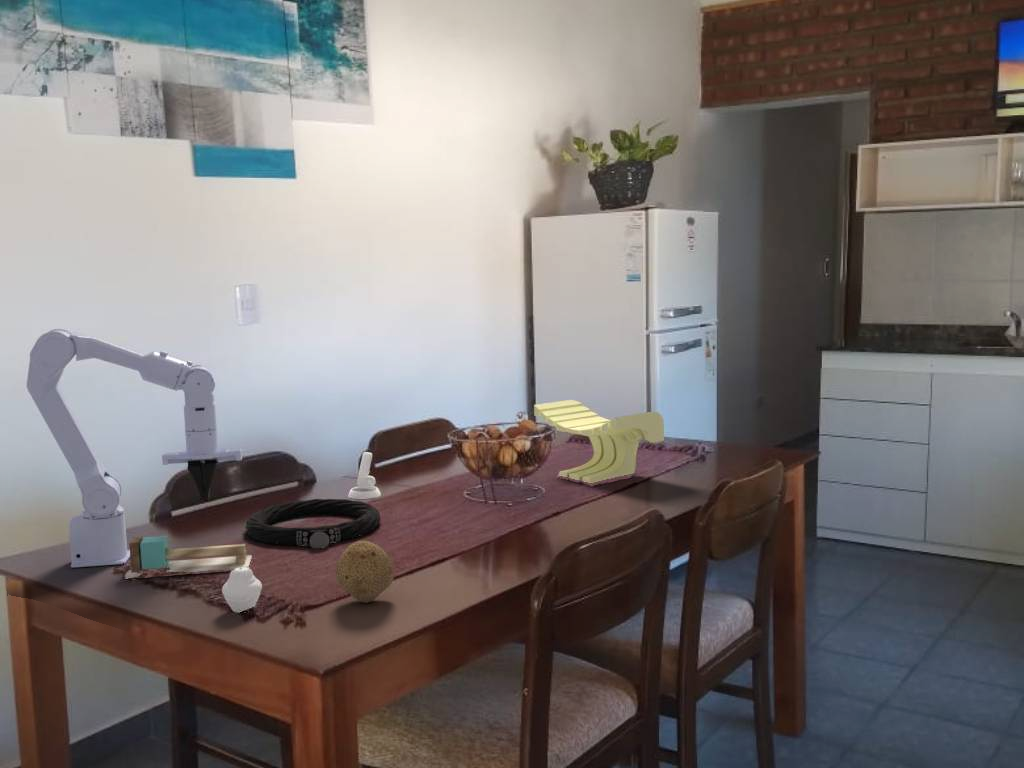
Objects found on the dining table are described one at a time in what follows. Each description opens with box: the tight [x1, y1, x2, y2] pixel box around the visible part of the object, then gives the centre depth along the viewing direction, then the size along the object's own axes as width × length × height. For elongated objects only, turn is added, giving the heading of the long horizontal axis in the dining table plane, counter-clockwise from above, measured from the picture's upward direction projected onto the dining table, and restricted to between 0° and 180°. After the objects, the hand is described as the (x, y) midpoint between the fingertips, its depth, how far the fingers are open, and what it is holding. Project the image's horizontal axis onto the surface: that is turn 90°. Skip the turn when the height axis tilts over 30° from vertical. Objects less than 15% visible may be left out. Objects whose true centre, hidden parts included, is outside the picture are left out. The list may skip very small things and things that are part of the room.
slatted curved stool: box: [533, 399, 665, 483], centre depth 242 cm, size 30×16×18 cm, turn 38°
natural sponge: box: [335, 540, 394, 604], centre depth 156 cm, size 9×9×10 cm
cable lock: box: [244, 498, 381, 549], centre depth 200 cm, size 28×4×30 cm
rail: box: [124, 536, 253, 579], centre depth 175 cm, size 21×7×6 cm, turn 100°
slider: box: [140, 535, 170, 569], centre depth 174 cm, size 4×4×5 cm
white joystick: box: [347, 451, 382, 500], centre depth 231 cm, size 8×12×7 cm
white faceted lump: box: [221, 567, 263, 614], centre depth 153 cm, size 6×6×7 cm
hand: (205, 498), depth 187 cm, fingers closed
